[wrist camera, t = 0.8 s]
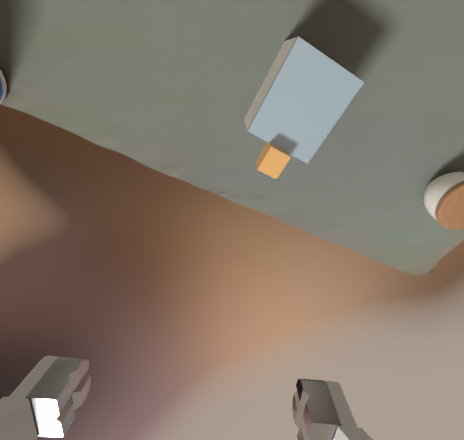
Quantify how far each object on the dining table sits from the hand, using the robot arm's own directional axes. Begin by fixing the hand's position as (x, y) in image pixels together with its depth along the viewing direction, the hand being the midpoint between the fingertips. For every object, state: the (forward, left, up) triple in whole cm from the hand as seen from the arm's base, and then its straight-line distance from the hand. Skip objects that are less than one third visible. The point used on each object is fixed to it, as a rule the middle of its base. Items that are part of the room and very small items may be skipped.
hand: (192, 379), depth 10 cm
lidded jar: (-11, +47, -43) cm, 65 cm away
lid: (-8, +9, -36) cm, 38 cm away
